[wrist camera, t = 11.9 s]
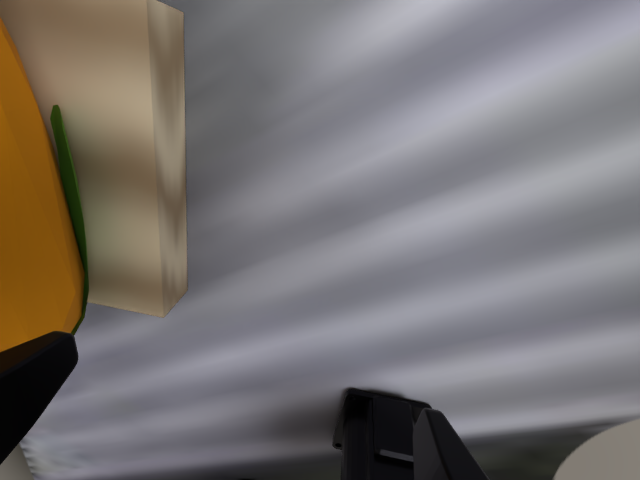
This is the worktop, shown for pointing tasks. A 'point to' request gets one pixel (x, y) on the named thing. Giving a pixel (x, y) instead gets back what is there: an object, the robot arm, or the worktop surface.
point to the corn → (36, 215)
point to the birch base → (117, 135)
